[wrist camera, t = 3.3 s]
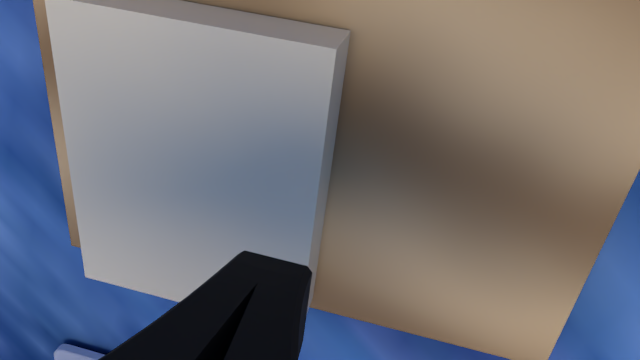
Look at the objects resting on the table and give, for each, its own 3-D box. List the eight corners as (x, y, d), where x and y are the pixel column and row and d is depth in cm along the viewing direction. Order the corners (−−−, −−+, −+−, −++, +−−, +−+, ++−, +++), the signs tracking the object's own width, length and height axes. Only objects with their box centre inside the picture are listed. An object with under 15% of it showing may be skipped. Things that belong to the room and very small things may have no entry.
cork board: (540, 341, 16) (543, 367, 15) (89, 228, 18) (71, 245, 18) (746, -106, 10) (771, -105, 9) (33, -197, 12) (1, -202, 11)
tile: (299, 334, 15) (85, 277, 16) (313, 295, 16) (115, 245, 17) (336, 49, 11) (43, -5, 12) (351, 29, 12) (88, -18, 13)
